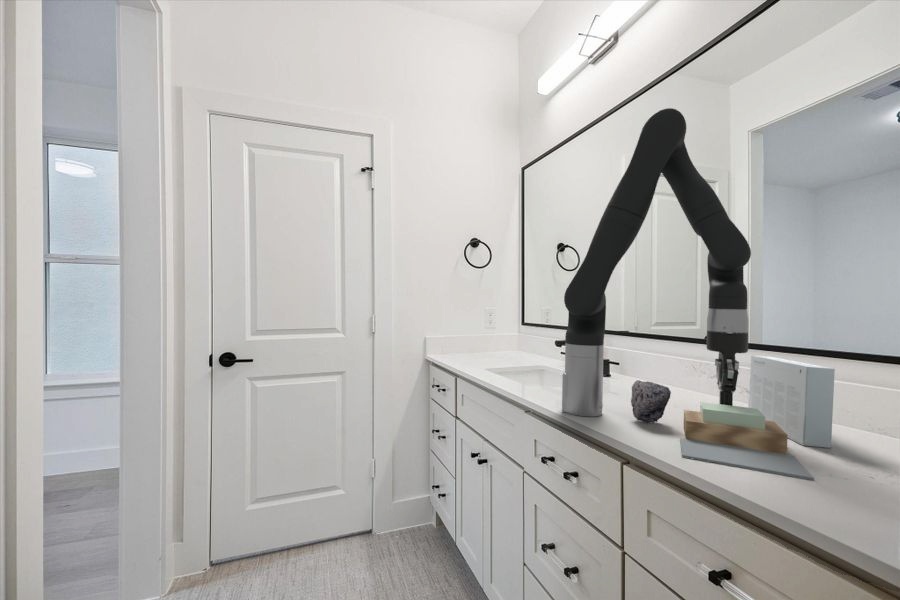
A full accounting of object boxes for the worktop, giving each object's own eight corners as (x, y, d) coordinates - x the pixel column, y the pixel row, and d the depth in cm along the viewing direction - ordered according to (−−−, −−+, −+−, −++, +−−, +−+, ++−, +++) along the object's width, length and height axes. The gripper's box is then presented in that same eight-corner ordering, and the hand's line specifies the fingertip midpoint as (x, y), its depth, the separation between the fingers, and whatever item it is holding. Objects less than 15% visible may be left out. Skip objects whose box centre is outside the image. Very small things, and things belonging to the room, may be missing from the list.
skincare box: (835, 449, 78) (836, 368, 78) (803, 446, 79) (804, 366, 79) (771, 419, 98) (772, 355, 98) (746, 418, 99) (747, 354, 100)
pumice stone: (673, 431, 87) (674, 385, 87) (635, 427, 89) (635, 382, 89) (661, 418, 97) (662, 377, 97) (627, 415, 99) (627, 375, 99)
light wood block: (685, 440, 80) (686, 420, 80) (683, 427, 89) (683, 409, 89) (787, 456, 73) (787, 434, 73) (773, 440, 82) (774, 421, 82)
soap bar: (702, 421, 80) (703, 408, 80) (700, 413, 87) (700, 401, 87) (765, 429, 76) (765, 416, 76) (757, 420, 82) (757, 408, 82)
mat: (682, 457, 71) (682, 454, 71) (680, 439, 81) (680, 437, 81) (814, 480, 63) (814, 477, 63) (794, 457, 72) (794, 455, 72)
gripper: (704, 327, 95) (702, 400, 95) (710, 330, 83) (708, 413, 83) (742, 329, 92) (741, 405, 91) (754, 332, 80) (753, 418, 80)
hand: (725, 408), depth 87 cm, fingers closed
